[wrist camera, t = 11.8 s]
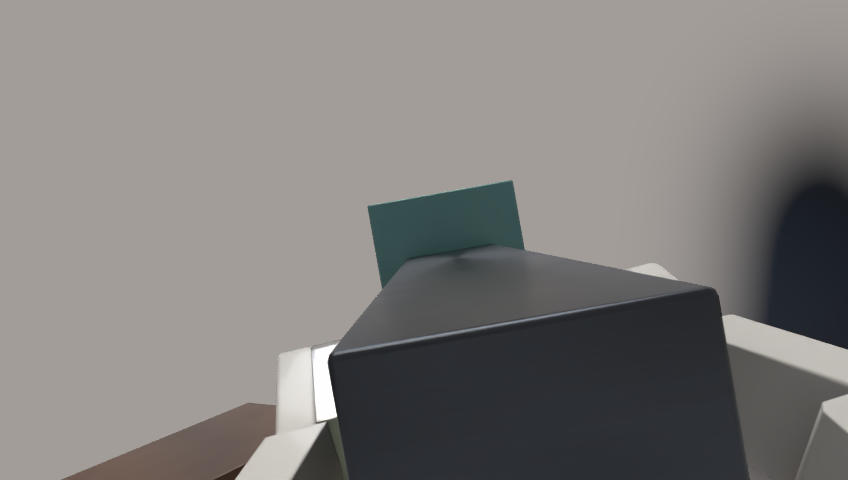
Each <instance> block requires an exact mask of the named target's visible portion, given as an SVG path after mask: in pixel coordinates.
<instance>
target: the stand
mask: <svg viewBox="0 0 848 480" xmlns="http://www.w3.org/2000/svg"><path fill="white" fill-rule="evenodd" d="M273 435H276V406H275V405H265V404H255V403H247V404H244V405H242V406H240V407H237V408H235V409H232V410H230V411H227V412H225V413H222V414H220V415H217V416H215V417H213V418H210V419H208V420H205V421H203V422H200V423H198V424H196V425H193V426H191V427H188V428H186V429H183V430H181V431H179V432H176V433H174V434H171V435H169V436H166V437H164V438H162V439H159V440H157V441H155V442H152V443H149V444H147V445H145V446H142V447H140V448H137V449H135V450H132V451H130V452H127V453H125V454H123V455H120V456H118V457H115V458H113V459H110V460H108V461H106V462H103V463H101V464H98V465H96V466H93V467H91V468H89V469H86V470H84V471H81V472H79V473H76V474H74V475H72V476H69V477H67V478H64V479H62V480H235V479H236V477H237V476H238V475H239V473H240V472H241V470H242V469H243V468H244V466H245V465H246V464H247V462H248V461H249V459H250V458H251V457H252V455H253V454H254V453H255V451H256V450H257V448H258V447H259V446H260V444H261V443H262V441H263V440H264V439H265V438H266V437H269V436H273Z"/></svg>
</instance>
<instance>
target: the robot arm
mask: <svg viewBox="0 0 848 480" xmlns="http://www.w3.org/2000/svg"><path fill="white" fill-rule="evenodd" d="M627 271H632V272H637V273H642V274H647V275H652V276H657V277H662V278H667V279H672V280H677V279H676V278H675V277H674V276H672V275H671V274H670V273H669V272H668V271H666V270H665V269H664V268H663V267H662V266H660V265H658V264H655V263H649V264H645V265H641V266H637V267H634V268H630V269H627ZM677 281H678V280H677ZM722 319H723V325H724V330H725V336H726V342H727V348H728V354H729V360H730V366H731V372H732V378H733V384H734V389H735V395H736V401H737V407H738V413H739V419H740V425H741V431H742V437H743V443H744V449H745V454H746V460H747V465H748V466H750V467H752V468H753V469H755V470H757V471H758V472H760V473H762V474H763V475H765V476H767V477H769V478H770V479H772V480H848V350H847V349H843V348H840V347H837V346H833V345H830V344H827V343H824V342H820V341H817V340H814V339H811V338H807V337H804V336H801V335H798V334H794V333H791V332H788V331H784V330H781V329H778V328H775V327H771V326H768V325H765V324H762V323H758V322H755V321H752V320H748V319H745V318H742V317H739V316H735V315H732V314H730V315H726V316H722ZM340 341H341V340H338V341H332V342H328V343H323V344H319V345H314V346H312V347H307V348H302V349H299V350H294V351H290V352H285V353H281V354H280V355H279V357H278V360H277V386H276V435H273V436H269V437H266V438H265V439H264V440H263V441H262V443H261V444H260V446H259V447H258V448H257V450H256V451H255V453H254V454H253V455H252V457H251V458H250V459H249V461H248V462H247V464H246V465H245V466H244V468H243V469H242V470H241V472H240V473H239V475H238V476H237V477H236V479H235V480H348V477H347V471H346V466H345V460H344V455H343V449H342V444H341V438H340V432H339V427H338V421H337V416H336V410H335V405H334V399H333V394H332V388H331V383H330V377H329V371H328V366H327V360H328V356H329V354H330V353H331V351H332V350H333V349H334V348H335V347H336V345H337V344H338V343H339V342H340Z"/></svg>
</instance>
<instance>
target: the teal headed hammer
mask: <svg viewBox="0 0 848 480" xmlns="http://www.w3.org/2000/svg"><path fill="white" fill-rule="evenodd" d="M368 212H369V217H370V224H371V229H372V235H373V240H374V246H375V252H376V257H377V263H378V268H379V273H380V280H381V285H382V291H381V292H380V293H379V294H378V295H377V297H376V298H375V299H374V300H373V302H372V303H371V304H370V305H369V306H368V308H367V309H366V310H365V311H364V312H363V314H362V315H361V316H360V317H359V319H358V320H357V321H356V323H354V325H353V326H352V327H351V328H350V330H349V331H348V332H347V333H346V334H345V336H344V337H343V338H342V339H341V341H340V342H339V343H338V344H337V345H336V347H335V348H334V349H333V350H332V351H331V353H330V354H329V356H328V360H327V366H328V371H329V377H330V383H331V388H332V394H333V399H334V405H335V410H336V416H337V421H338V427H339V432H340V438H341V444H342V449H343V455H344V460H345V466H346V471H347V477H348V480H750V478H749V472H748V466H747V460H746V454H745V449H744V443H743V437H742V431H741V425H740V419H739V413H738V407H737V401H736V395H735V389H734V384H733V378H732V372H731V366H730V360H729V354H728V348H727V342H726V336H725V330H724V325H723V319H722V313H721V307H720V301H719V296H718V294H717V292H716V290H715V289H714V288H711V287H707V286H701V285H697V284H692V283H687V282H682V281H677V280H672V279H667V278H662V277H657V276H652V275H647V274H642V273H637V272H632V271H627V270H622V269H617V268H612V267H606V266H601V265H597V264H591V263H586V262H581V261H576V260H571V259H566V258H561V257H556V256H551V255H546V254H541V253H536V252H531V251H526V250H525V249H524V243H523V238H522V232H521V226H520V220H519V215H518V209H517V203H516V197H515V192H514V186H513V181H512V180H509V181H504V182H498V183H492V184H486V185H481V186H475V187H470V188H464V189H459V190H453V191H447V192H441V193H436V194H430V195H425V196H419V197H413V198H408V199H402V200H396V201H391V202H385V203H380V204H374V205H369V206H368Z"/></svg>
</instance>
